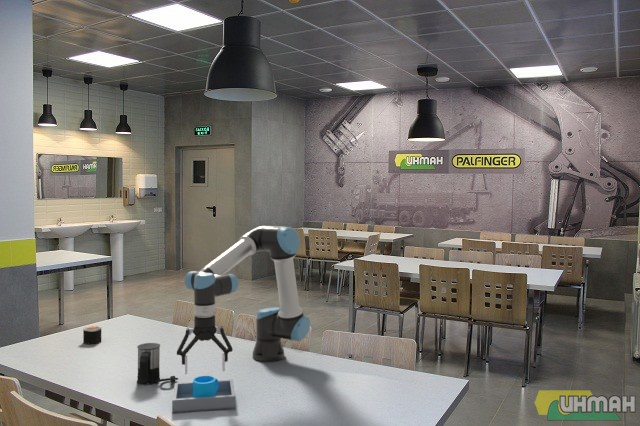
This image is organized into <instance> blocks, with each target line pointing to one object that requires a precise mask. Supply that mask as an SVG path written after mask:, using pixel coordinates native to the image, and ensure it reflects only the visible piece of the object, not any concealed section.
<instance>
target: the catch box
mask: <svg viewBox="0 0 640 426" xmlns="http://www.w3.org/2000/svg"><path fill="white" fill-rule="evenodd" d="M217 380H218V379H217ZM218 382H219V387H218V390H217V392H216V393H215V396H211V397H196V398H193V381H189V382H187V381H184V382H174V387H173V391H172V392H173V393H172V398H171V399H172V400H171V408H172V409H171V414H172V415H173V414H175V415H176V414H186V413H201V412H212V411H213V412H216V411H226V410H227V411H230V410H236V391H235V384H234V379H219V380H218ZM215 387H216V382H215Z"/></svg>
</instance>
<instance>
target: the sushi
mask: <svg viewBox="0 0 640 426" xmlns="http://www.w3.org/2000/svg"><path fill="white" fill-rule="evenodd" d="M102 328H103V327H100V326H97V325H96V326H94V325H91V326H87V327H86V326H85V327H84V328H83V329H82V331H83V332H82V333H83V336H82V338H83V341H82V342H83V344H84V345H88V346H89V345H90V346H93V345H98V344H101V343H102Z"/></svg>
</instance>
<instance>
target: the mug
mask: <svg viewBox="0 0 640 426" xmlns="http://www.w3.org/2000/svg"><path fill="white" fill-rule="evenodd" d="M192 382H193V398H196V397H211V396H215V393H216V392H217V390H218V387H219V382H218V379H217V378H216V377H215V376H213V375H201V376H196V377H194V378H193V379H192ZM215 382H216V387H215Z"/></svg>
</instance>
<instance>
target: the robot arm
mask: <svg viewBox="0 0 640 426" xmlns="http://www.w3.org/2000/svg"><path fill="white" fill-rule="evenodd" d="M300 244H301V239H300V236H299V233H298V231H296V229H294V228H293V227H290V226H285V225H284V226H283V225H282V226H280V225H266V224H265V225H261V226H257V227H254V228H253V229H251V230H249V231H248V232H245V234H243V235H242V236H240V237H239V239H238V241H237V242H236V243H235V244H233V245H231V247H229V248H228V249H226V250H225V251H223V252H222V253H221V254H220V255H218V256H217V257H216V258H214V259H213V260H211V261H210V262H209V263H207V264H206V265H205V266H203V267H202V268H201V269H199V270H198V271H196V270H192V271H189V272H187V274H186V275H185V277H184V285H185V287H186V288H187V289H189V290H192V291H193V292H194V293H193V297H194V302H193V304H194V307H193V308H194V309H193V312H194V315H195V316H194V318H193V319H194V320H193V321H194V326H193V328H191V329H190V328H189V327H187V328H186V330H185V334H184V336H183V339H182V341H181V342H180V344H179V346H178V348H177V351H176V355H177V356H181V365H184V374H185V375H188V353H189V352H190V350H191V349H192V348H193V347H194V345H195V344H197V342H198V341H200V342H203V341H206V342H207V341H211V340H212V341H213V342H214V343H215V344H216V345H217V346H218V348H219V349H220V350H221V351H222V355H221V356H222V362H221V363H222V365H221V366H222V369H221V370H222V372H225V371H226V370H225V369H226V365H225V364H226V363H227V362H228V361H229V360H228V359H229V355H228V354H229V353H231V352H233V347H232V344H231V342H230V341H229V339H228V337H227V335H226V333H225V330H224V326H222V325H221V326H220V327H216V316H215V314H216V297H217V298H218V297H222V296H226V295H230V294H232V293H236V292H237V290H238V288H239V279H238V277H237V276H236V275H235V274H233V273H228V272H229V271H231V270H233V268H234V267H236V266H237V265H238V264H239V263H241V262H243V260H245V259H246V258H247V257H248V256H254V255H255V254H256V253H258V252H267V253H268V252H269V258H270V259H271V260H272V261H273V263H274V269H275V278H276V284H277V285H276V286H277V291H278V299H279V305H280V306H279V307H266V308H261V309H258V311H257V313H256V318H255V319H256V338H255V339H256V341H255V345H254V346H253V350H252V358H253V359H254V360H256V361H259V362H265V363H267V362H277V361H280V360H283V359H284V358H285V350H284V347H283V343H282V339H284V340H289V341H291V342H301V341H303V340H304V339H305V338H306V337H307V335H308V333H309V331H310V327H311V321H310V318H309V317H308V316H306V315H305V314H304V310H303V308H302V307H301V306H300V301H299V293H298V286H297V279H296V272H295V271H296V270H295V263H294V258H295V257H296V255H297V253H298V251H299V249H300ZM217 332H218V334H220V335H221V338H222V339H223V341H224V343H225V345H226V346H225V345H224V344H223V343H222V342H221V341H220V340H219V339H218V338H217V336H216V335H215V334H216V333H217ZM192 334H193V335H194V337H193V339H192V340H191V341H190V342H189V343H188V344H187V346H186V347H185V345H186V343H187V340H188V339H189V337H190V336H191V335H192ZM184 347H185V348H184Z"/></svg>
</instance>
